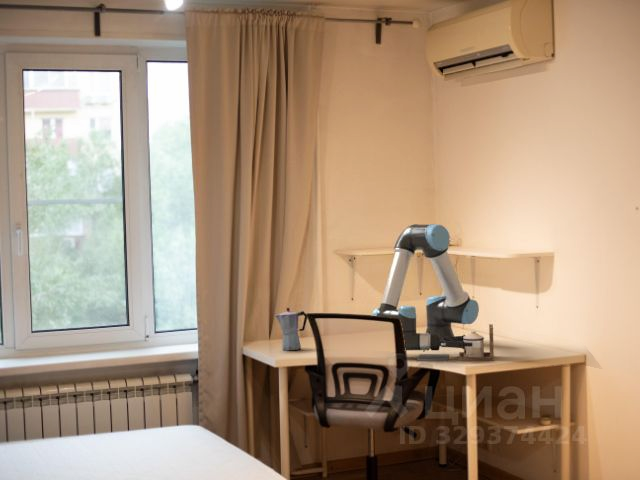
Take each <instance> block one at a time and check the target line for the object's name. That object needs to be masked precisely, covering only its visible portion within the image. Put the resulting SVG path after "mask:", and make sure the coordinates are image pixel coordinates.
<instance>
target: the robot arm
mask: <svg viewBox="0 0 640 480" xmlns="http://www.w3.org/2000/svg"><path fill="white" fill-rule="evenodd" d="M450 239H451V236H450V233H449V231H448V229H447V228H446V227H445V226H443V225H442V224H436V223H431V224H418V223H417V224H416V223H415V224H411V225H408V226H407V227H406V228H405V229H403V230H402V232H401V233H400V235H399V236H398V237H397V240H396V242H395V243H394V247H393V252H394V255H393V260H392V262H391V267H390V270H389V274H388V277H387V280H386V281H387V282H386V283H385V284H386V285H385V287H384V292H383V295H382V299H381V302H380V306H379V307H376V308H375V309H374V310H373V311H372V315H371V317H372V316H378V317H391V318H398V319H400V320H401V323H402V328H403V334H404V340H405V348H406V351H422V352H423V353H425V352H426V351H430V350H431V351H440V347H441V348H453V349H462V350H464V349H465V348H480V341H465V342H464V341H463V337H464V336H466V334H463V335H456V336H455V334H454V331H453V328H452V324H459V325H460V324H461V325H471V324H473V323H474V322H476V320H477V318H478V317H479V311H480V308H479V307H480V306H479V303H478V301H477V300H475V299H471V297H470V295H469V293H468V292H467V291H464V289H463V287H462V284H461V282H460V279H459V277H458V275H457V273H456V269H455V268H454V266H453V263H452V260H451V258H450V256H449V253H448V250H449V246H450V244H451V240H450ZM416 251H422V253H423V256H424V257H425V258H426V259H429V260H430V263H431V266H432V267H433V271H434V273H435V274H436V277H437V279H438V283H439V284H440V286H441V289H442V291H443V293H444V295H435V296H429V297H427V298H426V305H425V307H426V311H425V312H426V330H425V332H417V313H416V311H417V310H416V307H415V306H414V305H401V306H399V307H398V305H399V301H400V298H401V295H402V291H403V287H404V285H405V281H406V280H405V279H406V276H407V273H408V269H409V266H410V262H411V258H413V257H414V255H415V253H416Z"/></svg>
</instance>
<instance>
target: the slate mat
mask: <svg viewBox="0 0 640 480" xmlns="http://www.w3.org/2000/svg"><path fill="white" fill-rule="evenodd" d="M448 360H449V353H448V354H447V353H439V354H438V353H432V354H431V353H420V354H418V356H417V359H416V361H417V362H448Z"/></svg>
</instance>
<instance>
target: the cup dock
mask: <svg viewBox="0 0 640 480" xmlns="http://www.w3.org/2000/svg"><path fill="white" fill-rule="evenodd" d="M488 329H489V331H488V332H489V333H488V334H489V339H488V340H489V351H484V357H464V351H459V355H458V356H459V357H458V362H494V361H495V360H494V359H495V358H494V355H495V354H494V352H495V351H494V348H495V347H494V325H493V324H492V323H491V324H488Z"/></svg>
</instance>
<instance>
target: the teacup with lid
mask: <svg viewBox="0 0 640 480" xmlns="http://www.w3.org/2000/svg"><path fill="white" fill-rule="evenodd" d="M484 340H485V338H484V336H483V335H481V334H478V333H476V330H471V332H469V333H468V334H465V336H464V337H463V341H464V342H465V341H480V348H465V349H463V352H464V356H463V357H485V356H484V352H485V350H484V349H485V348H484V347H485V346H484V344H485V343H484Z"/></svg>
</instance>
